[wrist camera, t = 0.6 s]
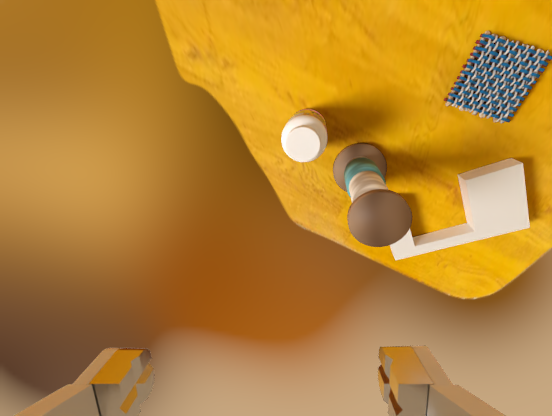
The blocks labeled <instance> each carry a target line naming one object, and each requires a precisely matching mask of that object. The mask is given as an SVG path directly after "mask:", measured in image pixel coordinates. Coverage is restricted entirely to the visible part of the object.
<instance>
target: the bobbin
mask: <svg viewBox="0 0 552 416" xmlns="http://www.w3.org/2000/svg"><path fill="white" fill-rule="evenodd" d="M386 171H387V164H386V160H385V158H384V156H383V154H382V153H381V152H380V151H379V150H378V149H377V148H376V147H374V146H372V145H370V144H366V143H357V144H352V145H350V146H348V147H346V148H344V149H343V150H342V151H341V152H340V153H339V154H338V156H337V157H336V159H335V161H334V165H333V173H334V178H335V181H336V183H337V184H338V185H339V187H340V188H342V189H343V190H344V191H346V192H348V194H349V196H350V197H351V200H352V204H351V206H350V208H349V211H348V225H349V229H350V231H351V233H352V235H353V236H354V237H355V238H356V239H357V240H358V241H359V242H361V243H363V244H365V245H368V246H373V247H383V246H388V245H391V244H393V243H396V242H397V241H399V240H400V239H402V238H403V237H404V236H405V235H406V234H407V232H408V231H409V229H410V227H411V223H412V212H411V210H410V207H409V206H408V204H407V203H406V201H405V200H404V199H403V197H401V196H400V195H399V194H397V193H396V192H393V191H391V190H388V188H387V187H386V183H385V179H384V178H385V175H386Z"/></svg>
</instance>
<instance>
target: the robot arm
mask: <svg viewBox="0 0 552 416" xmlns="http://www.w3.org/2000/svg"><path fill="white" fill-rule="evenodd" d="M151 358H152V357H151V353H150V350H149V349H147V348H107V349H105V350H103V351H102V352H101V353H100V354H99V356H98V357H97V358H96V359H95V360H94V361H93V362H92V363H91V364H90V365H89V366H88V368H87V369H86V370H85V371H84V372H83V373H82V374H81V375H80V376H79V378H78V379H77V380H76V381H75V382H74V383H73V384H68V385H66V386H64V387H62V388H61V389H59V390H57V391H55V392H54V393H52V394H50V395H48V396H47V397H45V398H43V399H42V400H40V401H38V402H37V403H35V404H33V405H31V406H29V407H28V408H26V409H24V410H23V411H21V412H19V413H17V414H15V415H14V416H138V415H139V413H140V412H141V411H140V404H142V403H143V402H144V401H146V400H147V399H148V397H149V395H150V393H151V391H152V388H153V384H154V376H155V374H154V369H153V368H152V366H151V365H150V364H149V361H150V360H151ZM379 359H380V362H381V365H380V366H379V368H378V380H379V387H380V391H381V394H382V397H383V400H384V401H385V402H386V403H387V404H388V414H389V416H505V415H504V414H502V413H501V412H499V411H498V410H496V409H494V408H493V407H491V406H490V405H488V404H487V403H485V402H484V401H482V400H481V399H479V398H478V397H476V396H475V395H473V394H471V393H470V392H468V391H467V390H465V389H464V388H462V387H461V386H459V385H453V384H452V382H451V381H450V379H449V378H448V377H447V375H446V373H445V372H444V370H443V369H442V368H441V366H440V364H439V363H438V362H437V360H436V359H435V357H434V356H433V354H432V353H431V351H430V350H429V348H428V347H426V346H425V345H422V346H395V347H394V346H393V347H380V348H379Z"/></svg>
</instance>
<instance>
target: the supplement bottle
mask: <svg viewBox="0 0 552 416" xmlns="http://www.w3.org/2000/svg"><path fill="white" fill-rule="evenodd" d="M281 142H282V146H283V149H284V151H285V152H286V154H287V155H288V156H289V157H290V158H292V159H293V160H295V161H298V162H310V161H313V160H315V159H316V158H318V157H319V156H320V155H321V154H322V153H323V151H324V150H325V148H326V145H327V126H326V122H325V119H324V118H323V116H322V115H321V114H320V113H319V112H317V111H315V110H312V109H303V110H300V111H298V112H296V113H295V114H294V115H293V116H292V117H291V118H290V120H289V121H288V123H287V124H286V126H285V127H284V129H283V132H282V136H281Z"/></svg>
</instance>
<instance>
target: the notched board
mask: <svg viewBox="0 0 552 416" xmlns="http://www.w3.org/2000/svg"><path fill="white" fill-rule="evenodd" d="M458 179H459V184H460V189H461V194H462V199H463V204H464V209H465V214H466V219H467V223H465V224H461V225H457V226H454V227H450V228H446V229H442V230H438V231H435V232H431V233H427V234H423V235H419V236H416V237H412V234H411V231H410V229H409V231H408V232H407V234H406V235H405V236H404V237H403V238H402V239H400V240H399V241H397V242H396V243H393V244H391V245H390V247H391V250H392V253H393V256H394V258H395V260H399V259H403V258H407V257H411V256H415V255H419V254H423V253H427V252H432V251H436V250H440V249H444V248H448V247H452V246H456V245H460V244H464V243H468V242H472V241H477V240H481V239H485V238H489V237H493V236H497V235H501V234H505V233H509V232H513V231H517V230H522V229H526V228H530V224H529V215H528V205H527V195H526V186H525V176H524V167H523V163H522V162H520V161H517V160H515V159H513V158H509V159H506V160H503V161H499V162H496V163H493V164H490V165H487V166H483V167H480V168H477V169H474V170H471V171H467V172H464V173H461V174H458ZM397 194H398V193H397Z"/></svg>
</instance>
